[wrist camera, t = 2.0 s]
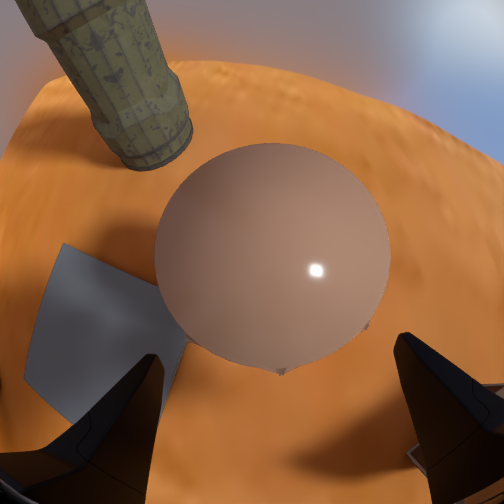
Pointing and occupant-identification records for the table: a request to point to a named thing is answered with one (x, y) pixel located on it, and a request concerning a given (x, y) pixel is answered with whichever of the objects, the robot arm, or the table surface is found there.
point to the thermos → (117, 75)
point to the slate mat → (97, 333)
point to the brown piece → (272, 256)
